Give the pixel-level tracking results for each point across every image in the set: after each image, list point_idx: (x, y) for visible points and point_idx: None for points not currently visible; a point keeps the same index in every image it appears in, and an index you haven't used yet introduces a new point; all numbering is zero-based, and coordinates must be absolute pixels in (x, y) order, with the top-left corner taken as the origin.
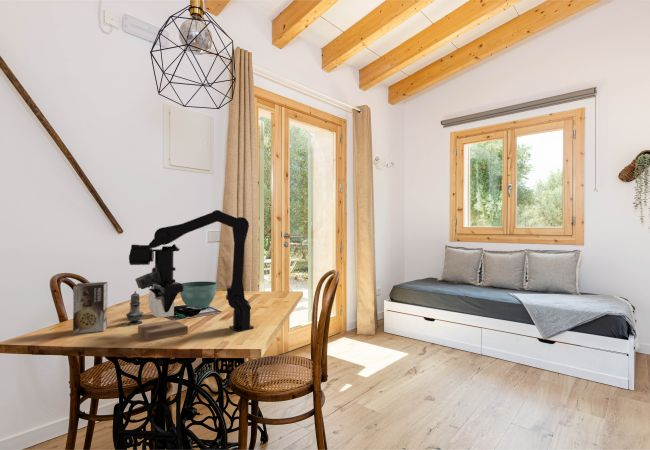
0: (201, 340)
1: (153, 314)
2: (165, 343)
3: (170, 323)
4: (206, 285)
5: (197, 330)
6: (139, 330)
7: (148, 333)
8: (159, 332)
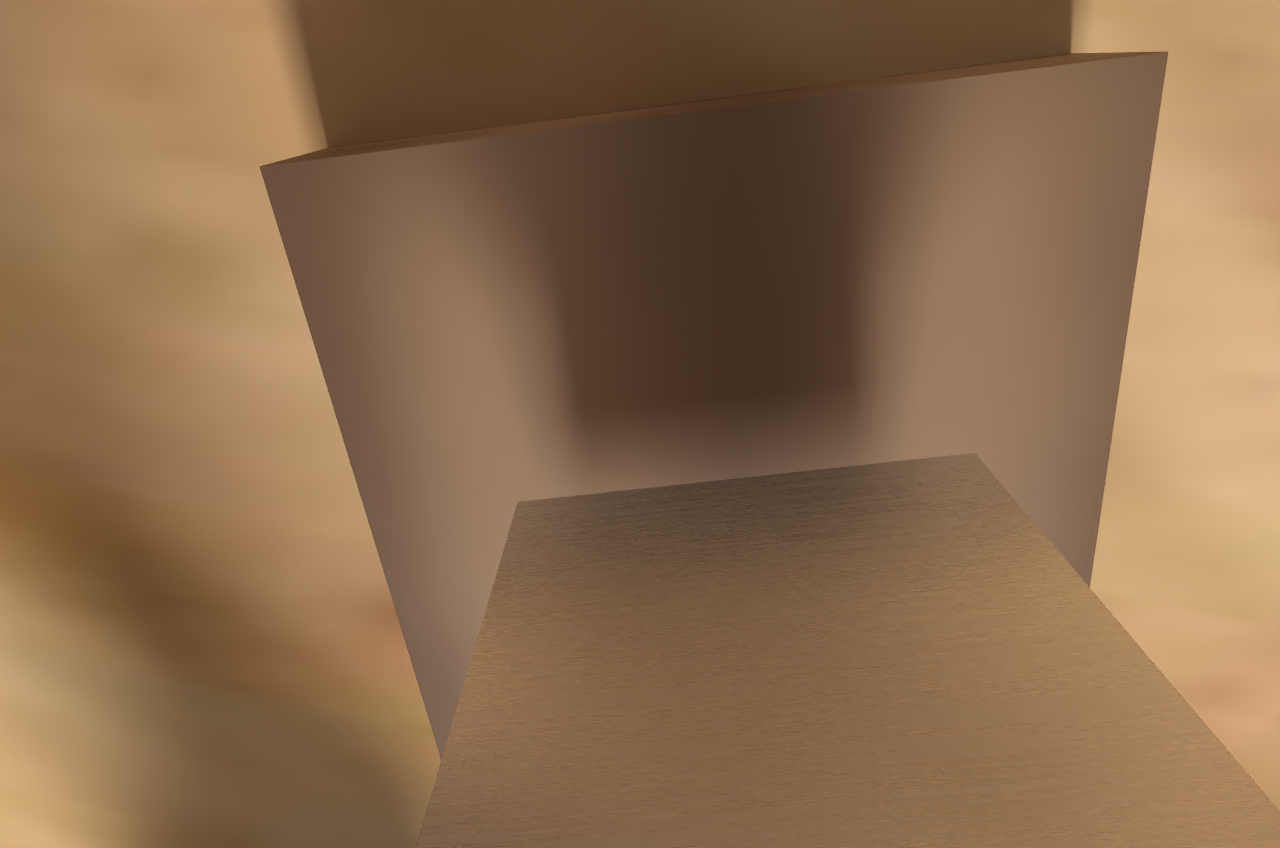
0: (75, 744)
1: (940, 470)
2: (89, 345)
3: None
4: None
5: None
6: (1002, 67)
7: (374, 150)
8: (327, 355)
